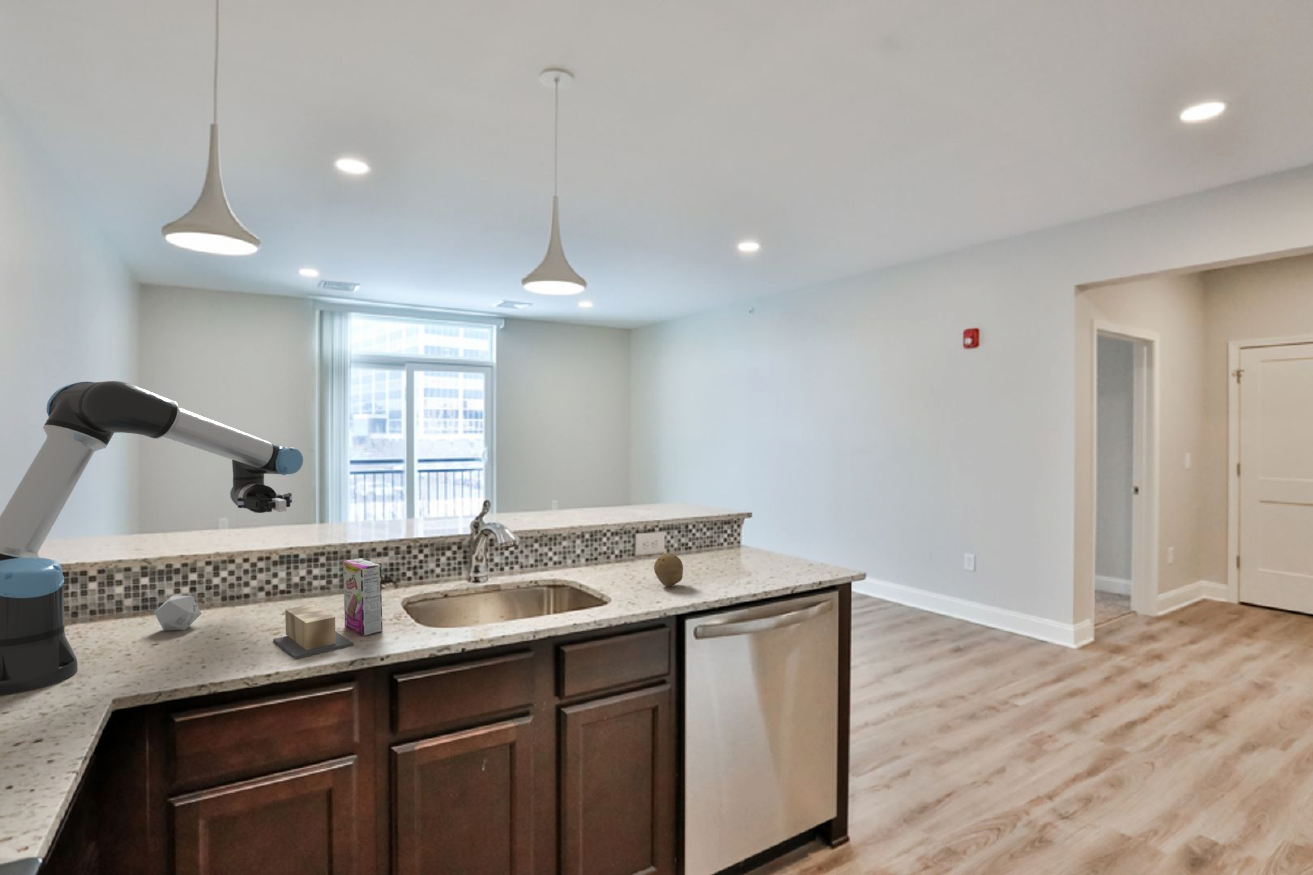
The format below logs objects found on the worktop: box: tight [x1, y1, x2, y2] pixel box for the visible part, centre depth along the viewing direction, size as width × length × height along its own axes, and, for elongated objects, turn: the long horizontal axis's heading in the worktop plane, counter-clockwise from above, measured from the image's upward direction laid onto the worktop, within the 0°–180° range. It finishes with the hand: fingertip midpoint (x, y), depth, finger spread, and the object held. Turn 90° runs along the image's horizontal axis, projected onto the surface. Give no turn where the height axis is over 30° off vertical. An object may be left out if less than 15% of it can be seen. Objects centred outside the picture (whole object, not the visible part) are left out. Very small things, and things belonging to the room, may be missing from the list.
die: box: [153, 595, 202, 632], centre depth 161 cm, size 8×9×10 cm
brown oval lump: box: [653, 552, 684, 588], centre depth 198 cm, size 9×9×10 cm
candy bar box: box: [342, 557, 383, 637], centre depth 159 cm, size 11×5×16 cm, turn 47°
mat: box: [272, 630, 355, 660], centre depth 149 cm, size 12×16×1 cm
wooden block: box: [284, 603, 336, 650], centre depth 151 cm, size 6×6×15 cm
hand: (282, 505), depth 161 cm, fingers closed
